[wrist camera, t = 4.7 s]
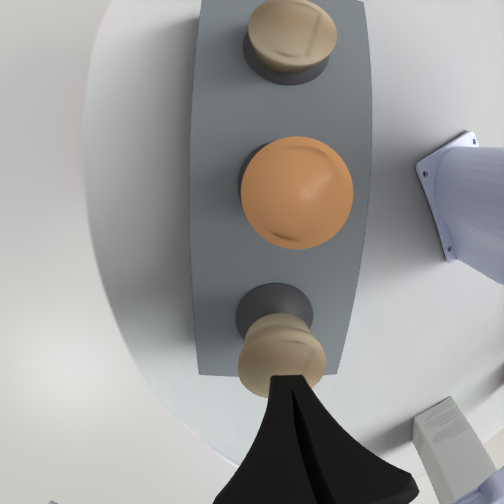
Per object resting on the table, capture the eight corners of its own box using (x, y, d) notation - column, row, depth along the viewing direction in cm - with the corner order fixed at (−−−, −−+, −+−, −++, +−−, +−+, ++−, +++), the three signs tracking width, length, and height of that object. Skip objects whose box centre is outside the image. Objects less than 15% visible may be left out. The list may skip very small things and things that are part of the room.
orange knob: (330, 236, 13) (347, 250, 11) (241, 233, 13) (239, 247, 10) (337, 146, 12) (356, 143, 9) (243, 139, 11) (242, 133, 9)
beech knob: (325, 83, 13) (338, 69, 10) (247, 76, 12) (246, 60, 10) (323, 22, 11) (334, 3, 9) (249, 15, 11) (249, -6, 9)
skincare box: (445, 422, 28) (483, 491, 14) (409, 442, 29) (441, 517, 14) (451, 393, 26) (502, 471, 11) (411, 416, 27) (454, 505, 12)
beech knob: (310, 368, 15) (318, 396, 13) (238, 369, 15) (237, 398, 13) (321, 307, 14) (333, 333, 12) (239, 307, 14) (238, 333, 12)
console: (324, 343, 22) (337, 375, 18) (205, 343, 22) (198, 376, 18) (345, 25, 15) (364, 0, 11) (211, 14, 14) (203, -15, 10)
